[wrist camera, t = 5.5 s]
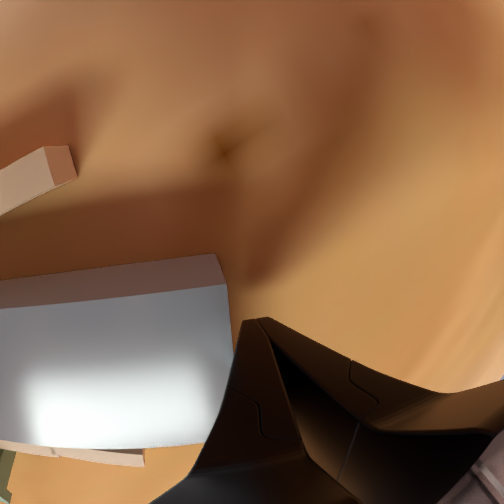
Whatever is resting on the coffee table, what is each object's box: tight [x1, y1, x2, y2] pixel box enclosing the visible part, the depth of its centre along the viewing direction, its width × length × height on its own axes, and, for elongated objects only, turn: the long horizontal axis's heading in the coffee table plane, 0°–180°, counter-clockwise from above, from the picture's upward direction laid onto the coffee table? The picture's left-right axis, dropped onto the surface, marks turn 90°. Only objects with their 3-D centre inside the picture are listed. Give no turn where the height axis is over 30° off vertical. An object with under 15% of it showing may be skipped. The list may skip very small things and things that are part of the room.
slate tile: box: [0, 253, 234, 449], centre depth 8 cm, size 12×6×2 cm, turn 93°
